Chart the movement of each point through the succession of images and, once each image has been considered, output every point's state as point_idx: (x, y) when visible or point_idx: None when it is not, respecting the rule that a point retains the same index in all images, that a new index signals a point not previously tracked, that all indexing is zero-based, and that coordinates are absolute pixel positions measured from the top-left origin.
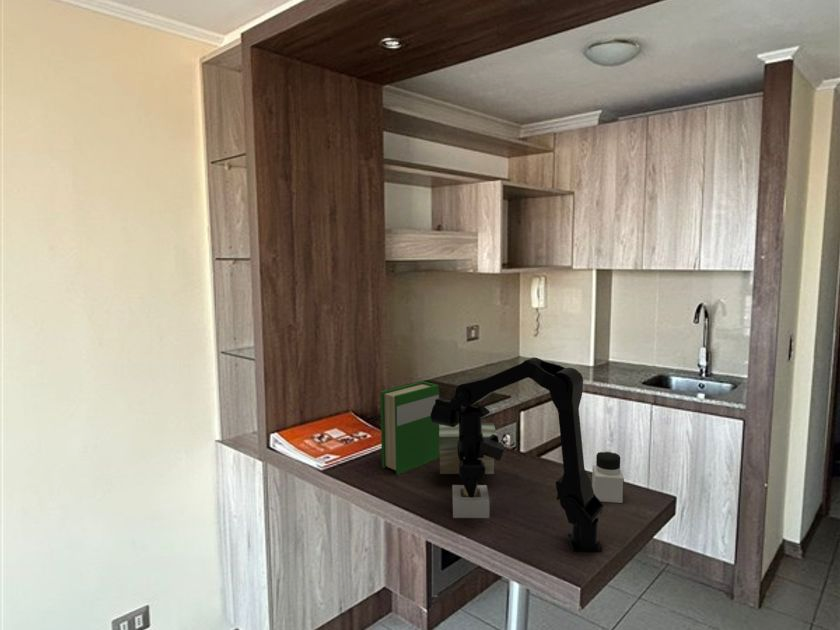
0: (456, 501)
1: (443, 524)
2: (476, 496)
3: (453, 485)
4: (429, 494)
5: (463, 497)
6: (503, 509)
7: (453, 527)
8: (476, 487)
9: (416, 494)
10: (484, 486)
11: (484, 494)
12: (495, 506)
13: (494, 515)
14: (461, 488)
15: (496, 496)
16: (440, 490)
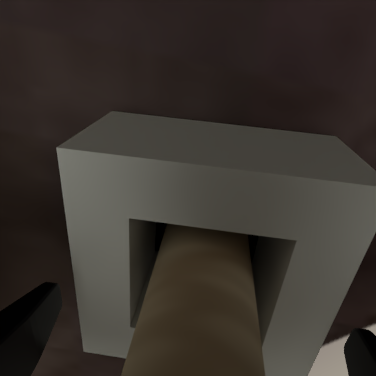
0: (305, 368)
1: (329, 335)
2: (234, 246)
3: (90, 348)
4: (63, 335)
5: (272, 338)
6: (232, 6)
7: (370, 309)
8: (237, 306)
9: (70, 367)
10: (84, 171)
11: (251, 203)
12: (181, 62)
13: (307, 95)
14: (130, 321)
15: (30, 23)
16: (18, 297)
